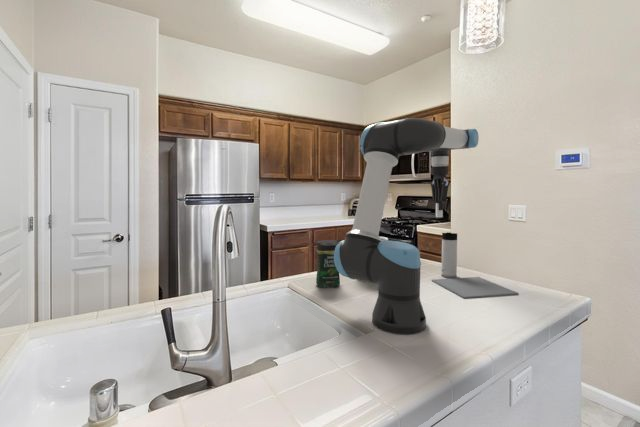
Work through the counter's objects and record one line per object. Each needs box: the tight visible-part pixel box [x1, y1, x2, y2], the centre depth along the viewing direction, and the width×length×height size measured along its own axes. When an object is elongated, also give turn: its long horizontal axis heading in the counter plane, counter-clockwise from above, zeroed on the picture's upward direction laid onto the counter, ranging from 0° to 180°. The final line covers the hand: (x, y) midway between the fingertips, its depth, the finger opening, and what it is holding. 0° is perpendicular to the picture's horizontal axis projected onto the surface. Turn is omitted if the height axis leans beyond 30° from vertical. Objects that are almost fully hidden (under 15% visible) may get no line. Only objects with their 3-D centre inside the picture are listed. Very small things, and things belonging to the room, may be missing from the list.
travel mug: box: [440, 231, 458, 279], centre depth 139 cm, size 6×7×20 cm
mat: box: [431, 276, 519, 299], centre depth 124 cm, size 22×22×1 cm
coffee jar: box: [315, 239, 341, 288], centre depth 128 cm, size 10×8×19 cm
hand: (439, 217), depth 147 cm, fingers closed
